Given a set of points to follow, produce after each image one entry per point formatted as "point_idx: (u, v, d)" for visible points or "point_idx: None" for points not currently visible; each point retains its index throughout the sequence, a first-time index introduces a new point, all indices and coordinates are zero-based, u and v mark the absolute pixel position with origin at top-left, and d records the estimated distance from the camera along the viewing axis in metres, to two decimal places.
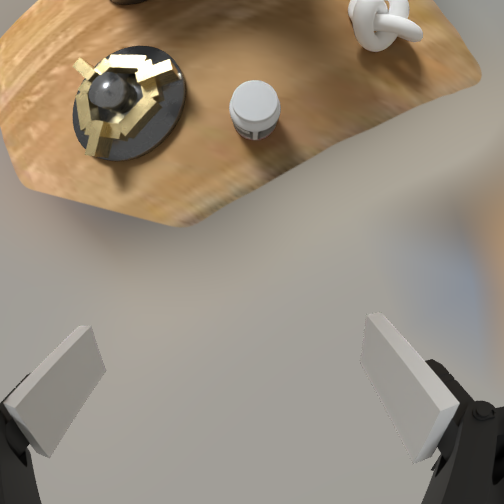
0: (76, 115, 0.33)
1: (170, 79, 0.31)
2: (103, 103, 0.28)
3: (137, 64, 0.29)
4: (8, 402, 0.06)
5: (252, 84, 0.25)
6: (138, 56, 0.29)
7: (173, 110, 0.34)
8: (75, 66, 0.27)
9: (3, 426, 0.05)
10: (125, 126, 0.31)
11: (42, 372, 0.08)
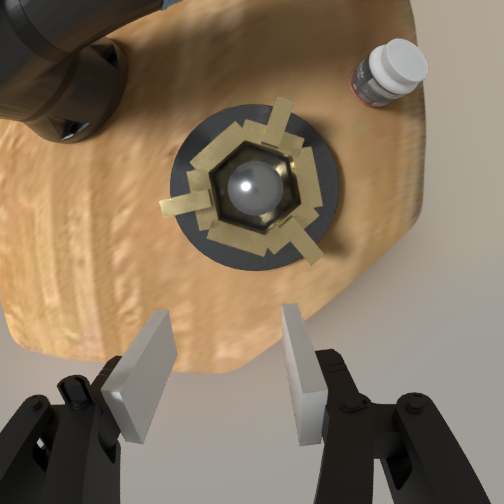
0: (220, 256, 0.31)
1: None
2: (278, 200, 0.24)
3: (239, 137, 0.25)
4: (107, 388, 0.08)
5: (392, 48, 0.18)
6: (227, 130, 0.25)
7: (317, 142, 0.28)
8: (168, 214, 0.25)
9: (97, 421, 0.07)
10: (311, 198, 0.27)
11: (136, 354, 0.10)
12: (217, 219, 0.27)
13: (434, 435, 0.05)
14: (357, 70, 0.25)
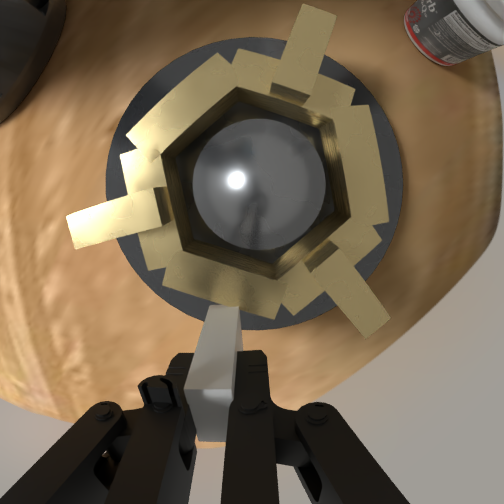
0: (195, 306, 0.17)
1: None
2: (313, 214, 0.10)
3: (224, 81, 0.11)
4: (191, 386, 0.08)
5: None
6: (201, 69, 0.11)
7: None
8: (82, 241, 0.11)
9: (180, 427, 0.07)
10: (370, 206, 0.13)
11: (210, 349, 0.10)
12: (181, 248, 0.13)
13: (341, 447, 0.05)
14: (420, 4, 0.10)
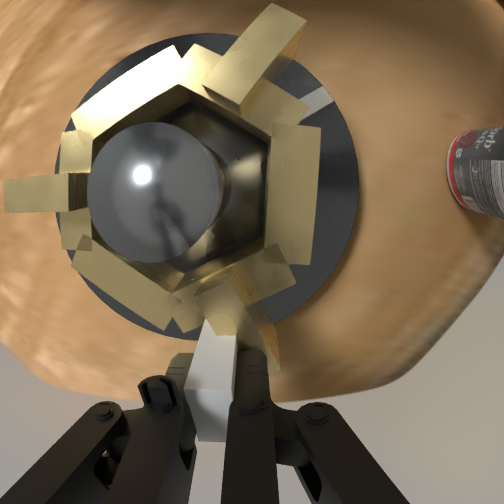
0: None
1: (285, 62, 0.11)
2: (175, 252, 0.09)
3: (169, 76, 0.10)
4: (191, 386, 0.08)
5: None
6: (151, 60, 0.10)
7: (345, 187, 0.14)
8: (10, 207, 0.10)
9: (180, 427, 0.07)
10: (290, 242, 0.12)
11: (210, 349, 0.10)
12: (90, 236, 0.12)
13: (341, 447, 0.05)
14: (481, 133, 0.12)
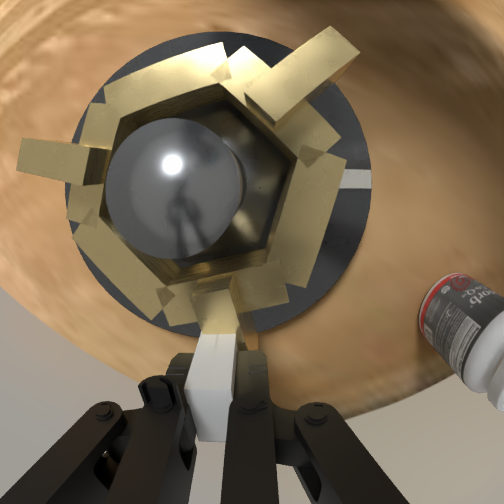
0: None
1: (327, 86, 0.11)
2: (162, 254, 0.09)
3: (211, 72, 0.10)
4: (191, 386, 0.08)
5: None
6: (197, 52, 0.10)
7: (333, 265, 0.15)
8: (23, 166, 0.10)
9: (180, 427, 0.07)
10: (292, 263, 0.12)
11: (210, 349, 0.10)
12: (98, 213, 0.12)
13: (340, 447, 0.05)
14: (474, 287, 0.14)
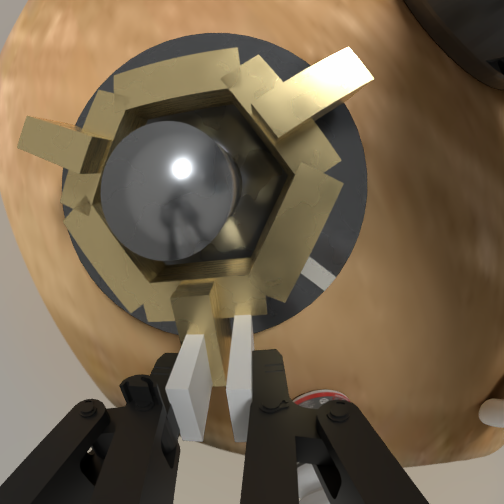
0: None
1: (336, 106, 0.12)
2: (121, 237, 0.09)
3: (221, 77, 0.10)
4: (173, 386, 0.08)
5: None
6: (211, 54, 0.10)
7: None
8: (24, 145, 0.09)
9: (162, 425, 0.07)
10: (274, 277, 0.12)
11: (194, 350, 0.10)
12: (91, 201, 0.12)
13: (361, 444, 0.05)
14: None
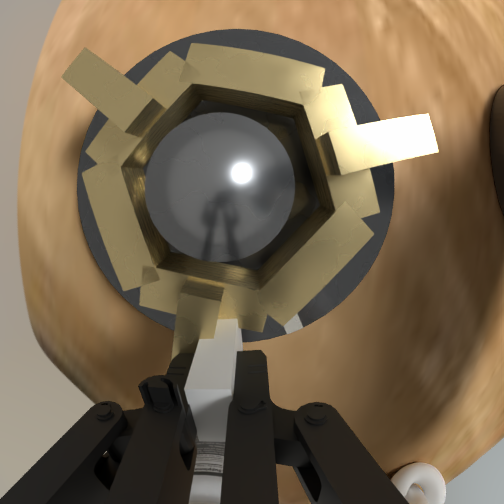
0: None
1: None
2: (151, 206, 0.08)
3: (301, 91, 0.10)
4: (192, 386, 0.08)
5: None
6: (298, 64, 0.10)
7: None
8: (71, 77, 0.08)
9: (180, 427, 0.07)
10: (282, 300, 0.12)
11: (210, 349, 0.10)
12: (121, 164, 0.11)
13: (340, 447, 0.05)
14: None
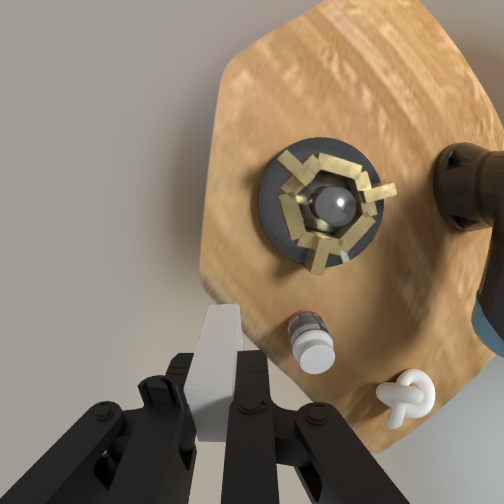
0: (309, 144, 0.36)
1: None
2: (320, 210, 0.32)
3: (354, 174, 0.34)
4: (191, 386, 0.08)
5: (331, 356, 0.34)
6: (353, 164, 0.33)
7: None
8: (282, 160, 0.32)
9: (180, 427, 0.07)
10: (346, 243, 0.36)
11: (210, 349, 0.10)
12: (295, 194, 0.34)
13: (341, 447, 0.05)
14: None
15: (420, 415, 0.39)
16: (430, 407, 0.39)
